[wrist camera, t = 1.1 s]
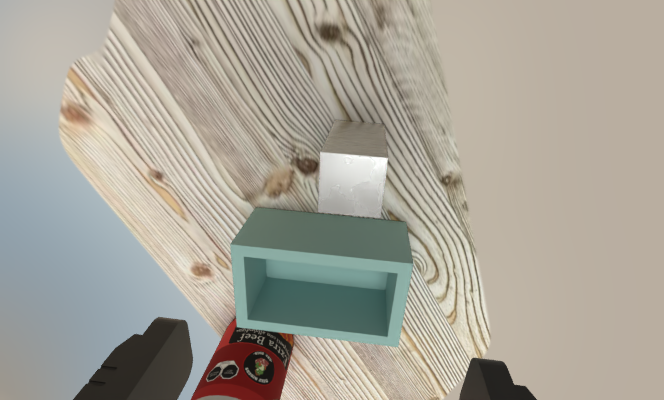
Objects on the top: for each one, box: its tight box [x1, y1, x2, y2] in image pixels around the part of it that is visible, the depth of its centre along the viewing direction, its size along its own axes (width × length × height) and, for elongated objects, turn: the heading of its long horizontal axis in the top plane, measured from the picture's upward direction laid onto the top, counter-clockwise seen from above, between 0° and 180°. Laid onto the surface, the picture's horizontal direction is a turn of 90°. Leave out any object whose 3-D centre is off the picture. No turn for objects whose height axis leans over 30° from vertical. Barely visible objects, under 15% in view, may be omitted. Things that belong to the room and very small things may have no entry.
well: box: [230, 207, 413, 347], centre depth 32 cm, size 8×14×7 cm, turn 87°
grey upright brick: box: [318, 120, 388, 218], centre depth 26 cm, size 4×4×9 cm
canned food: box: [191, 319, 293, 400], centre depth 35 cm, size 8×8×11 cm
